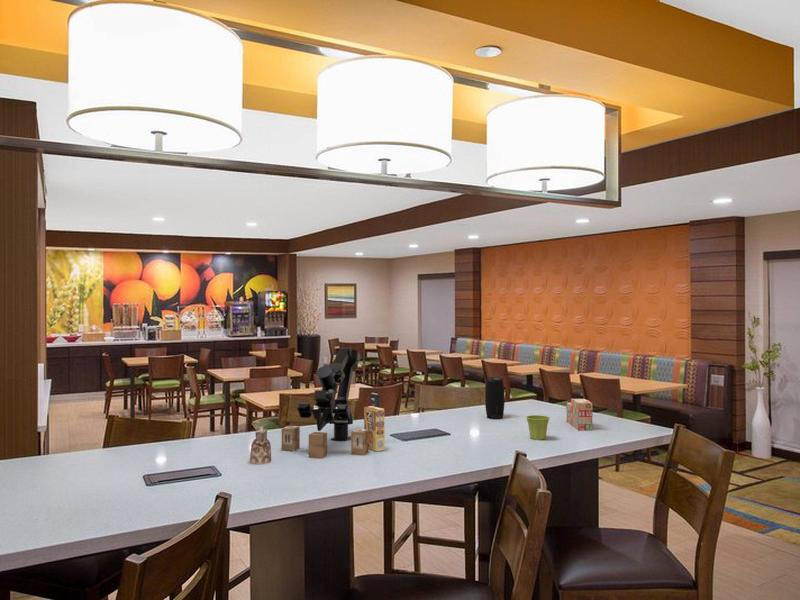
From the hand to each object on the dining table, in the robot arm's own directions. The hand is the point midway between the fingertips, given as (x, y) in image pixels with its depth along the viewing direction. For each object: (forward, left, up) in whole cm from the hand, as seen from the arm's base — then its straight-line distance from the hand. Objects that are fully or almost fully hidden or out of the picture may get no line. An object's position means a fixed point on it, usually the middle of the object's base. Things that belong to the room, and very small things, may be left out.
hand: (318, 430), depth 211 cm
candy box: (-15, +16, -9) cm, 24 cm away
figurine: (+13, -16, -9) cm, 22 cm away
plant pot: (-49, +75, -9) cm, 90 cm away
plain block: (+1, 0, -9) cm, 9 cm away
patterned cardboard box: (-82, +93, -9) cm, 124 cm away
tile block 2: (-7, +13, -9) cm, 17 cm away
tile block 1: (-7, -14, -9) cm, 18 cm away
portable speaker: (-94, +54, -9) cm, 109 cm away
